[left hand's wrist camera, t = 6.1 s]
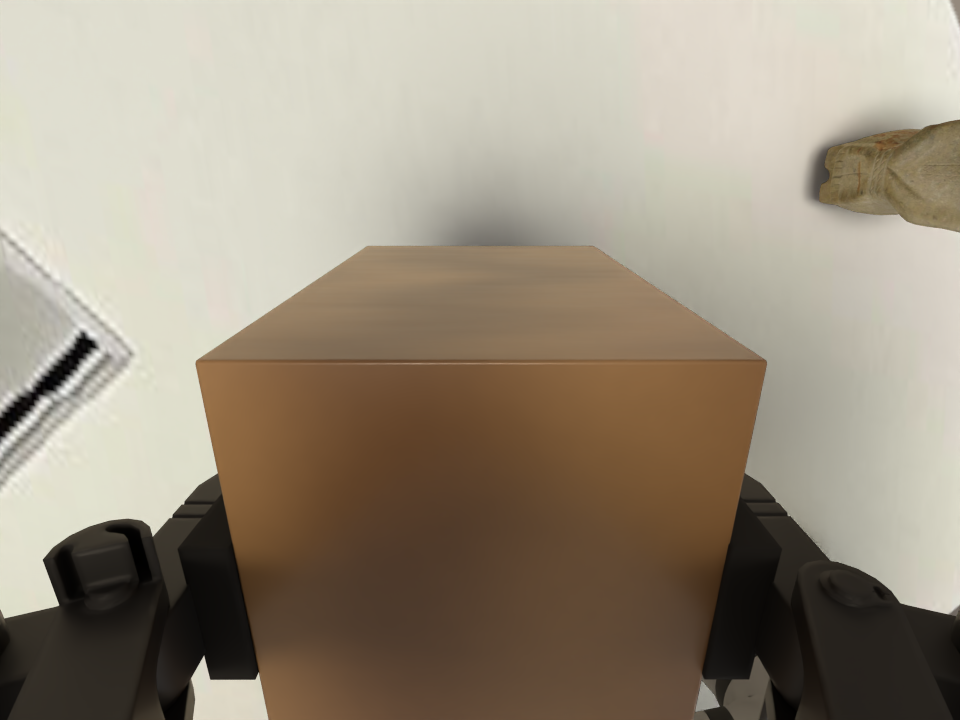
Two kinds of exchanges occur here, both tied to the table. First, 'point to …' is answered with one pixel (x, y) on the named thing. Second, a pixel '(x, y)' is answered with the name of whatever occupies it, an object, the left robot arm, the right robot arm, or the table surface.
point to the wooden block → (480, 486)
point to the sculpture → (899, 175)
